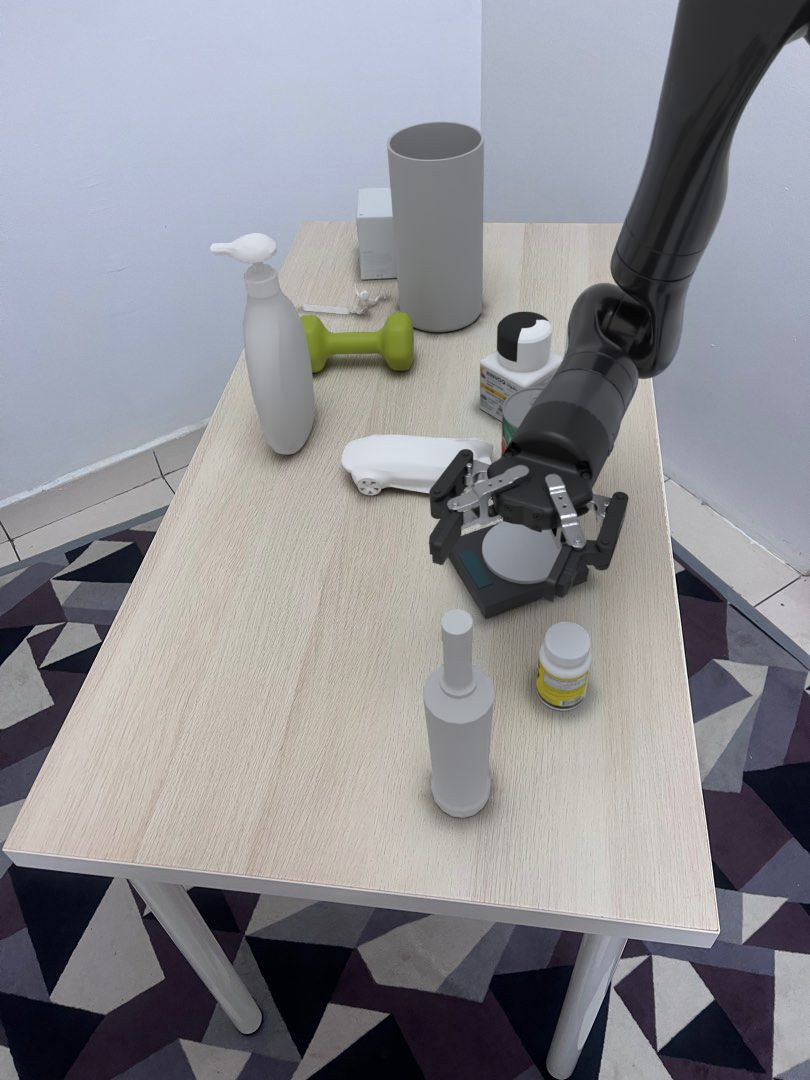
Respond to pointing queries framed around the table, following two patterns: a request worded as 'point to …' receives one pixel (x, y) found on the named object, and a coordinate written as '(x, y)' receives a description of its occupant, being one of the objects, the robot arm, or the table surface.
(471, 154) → the cylinder vase
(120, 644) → the table surface
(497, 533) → the scale
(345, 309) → the action figure
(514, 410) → the canned tomato
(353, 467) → the toy car
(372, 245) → the cosmetics box
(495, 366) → the container
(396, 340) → the dumbbell
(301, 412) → the soap bottle
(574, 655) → the supplement bottle
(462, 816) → the bottle
